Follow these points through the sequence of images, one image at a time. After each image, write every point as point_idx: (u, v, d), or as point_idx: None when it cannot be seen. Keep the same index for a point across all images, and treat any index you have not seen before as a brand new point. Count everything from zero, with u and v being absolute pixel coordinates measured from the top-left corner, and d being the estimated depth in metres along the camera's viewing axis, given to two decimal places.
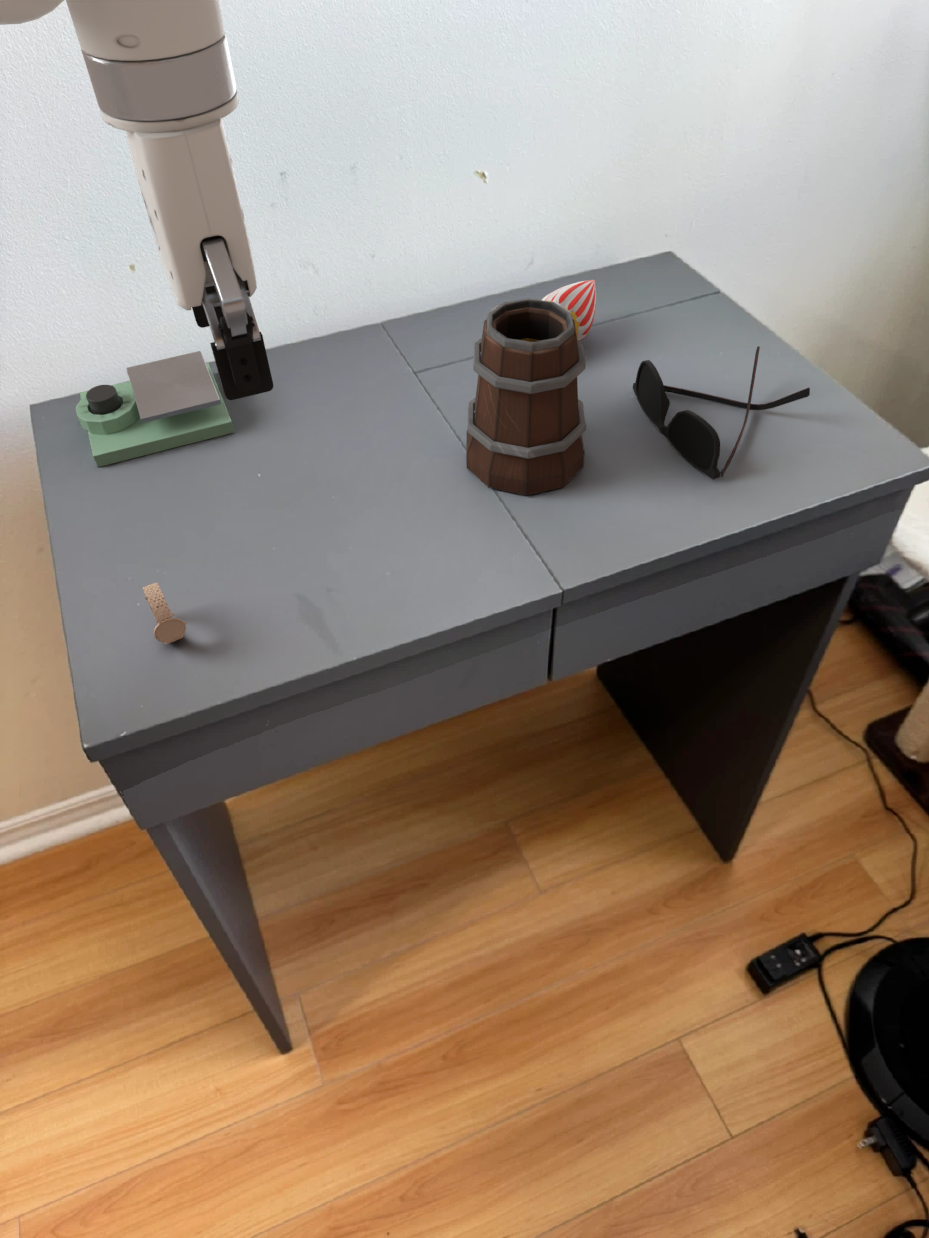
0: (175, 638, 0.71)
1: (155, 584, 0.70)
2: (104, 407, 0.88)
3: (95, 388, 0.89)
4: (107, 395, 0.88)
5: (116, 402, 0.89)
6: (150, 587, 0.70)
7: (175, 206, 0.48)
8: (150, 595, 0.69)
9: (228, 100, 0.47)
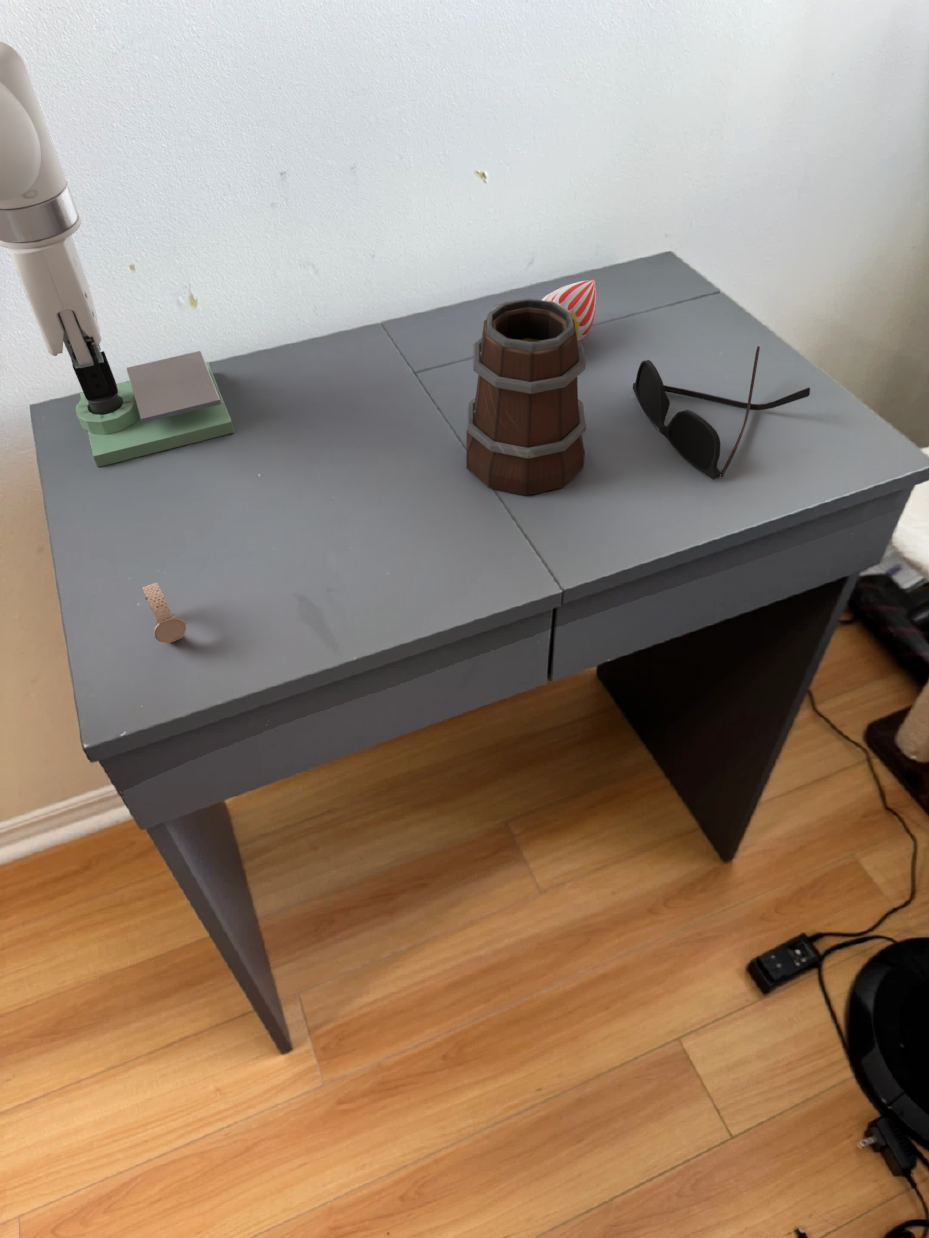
0: (175, 638, 0.71)
1: (155, 584, 0.70)
2: (104, 408, 0.89)
3: None
4: (108, 397, 0.89)
5: (116, 403, 0.89)
6: (150, 587, 0.70)
7: (38, 293, 0.75)
8: (150, 595, 0.69)
9: (70, 226, 0.75)
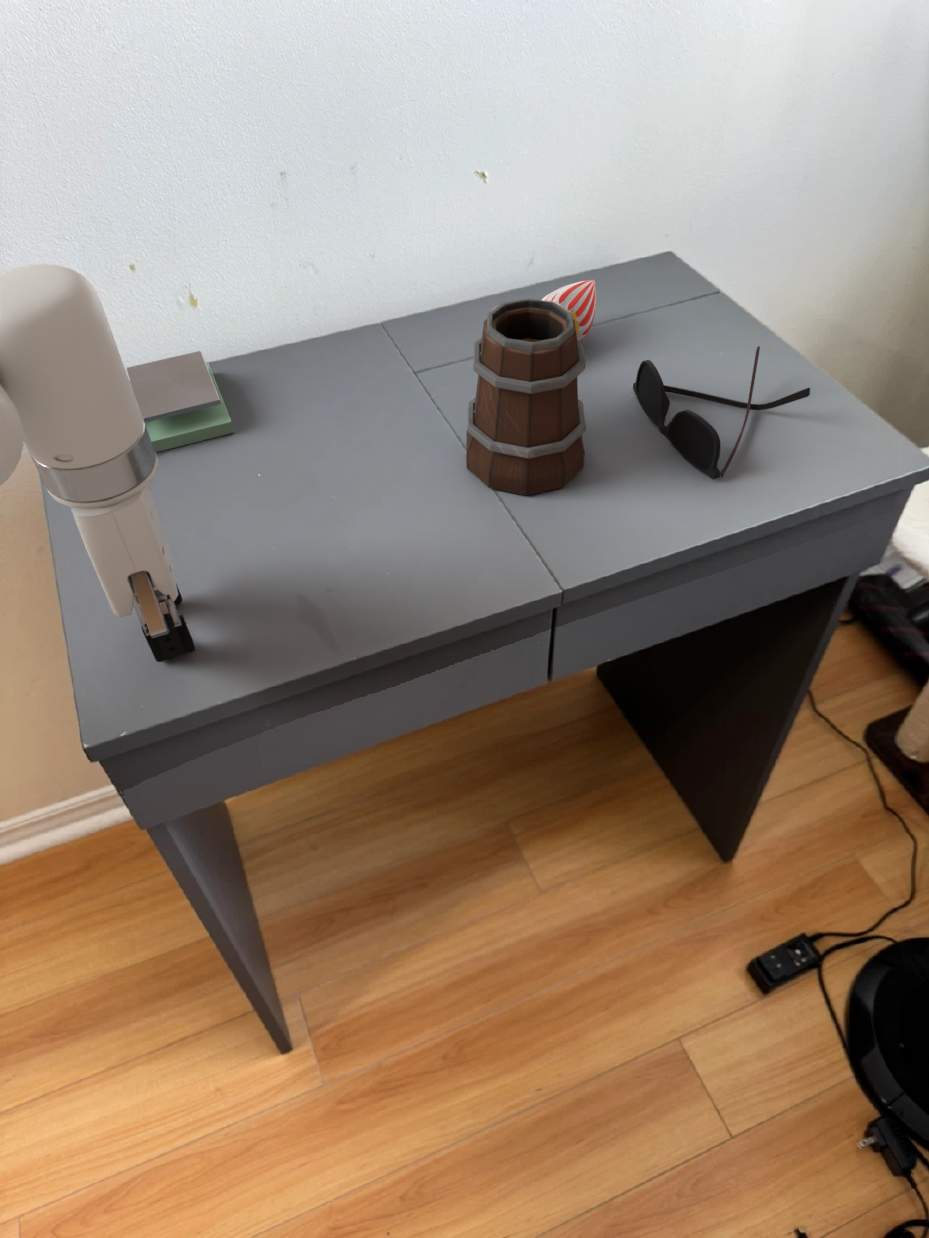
0: None
1: None
2: None
3: None
4: None
5: None
6: None
7: (105, 557, 0.59)
8: None
9: (147, 474, 0.59)
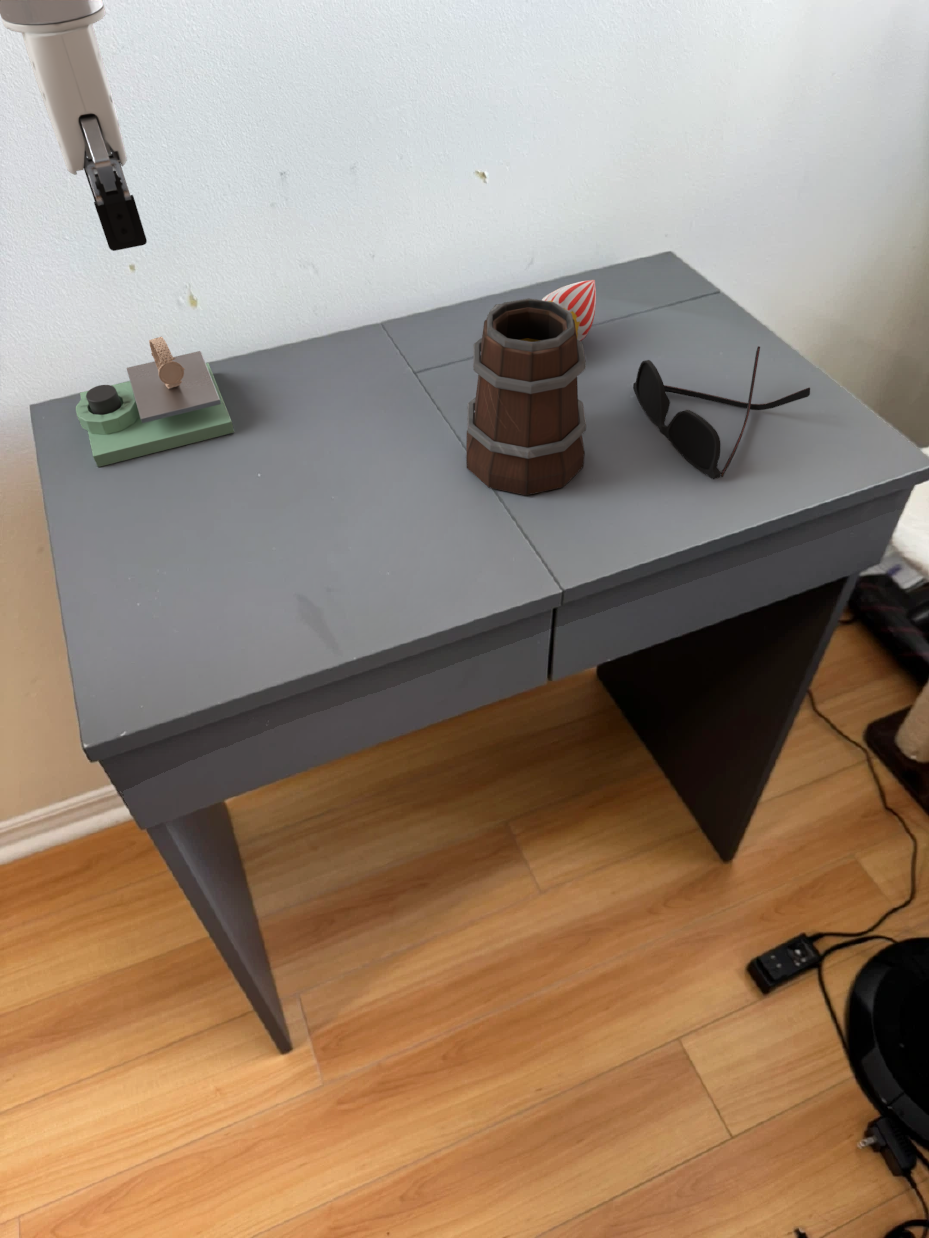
0: (175, 382, 0.89)
1: (159, 337, 0.88)
2: (104, 407, 0.88)
3: (95, 388, 0.89)
4: (107, 396, 0.88)
5: (116, 402, 0.89)
6: (155, 338, 0.88)
7: (57, 89, 0.66)
8: (155, 343, 0.87)
9: (94, 12, 0.66)
